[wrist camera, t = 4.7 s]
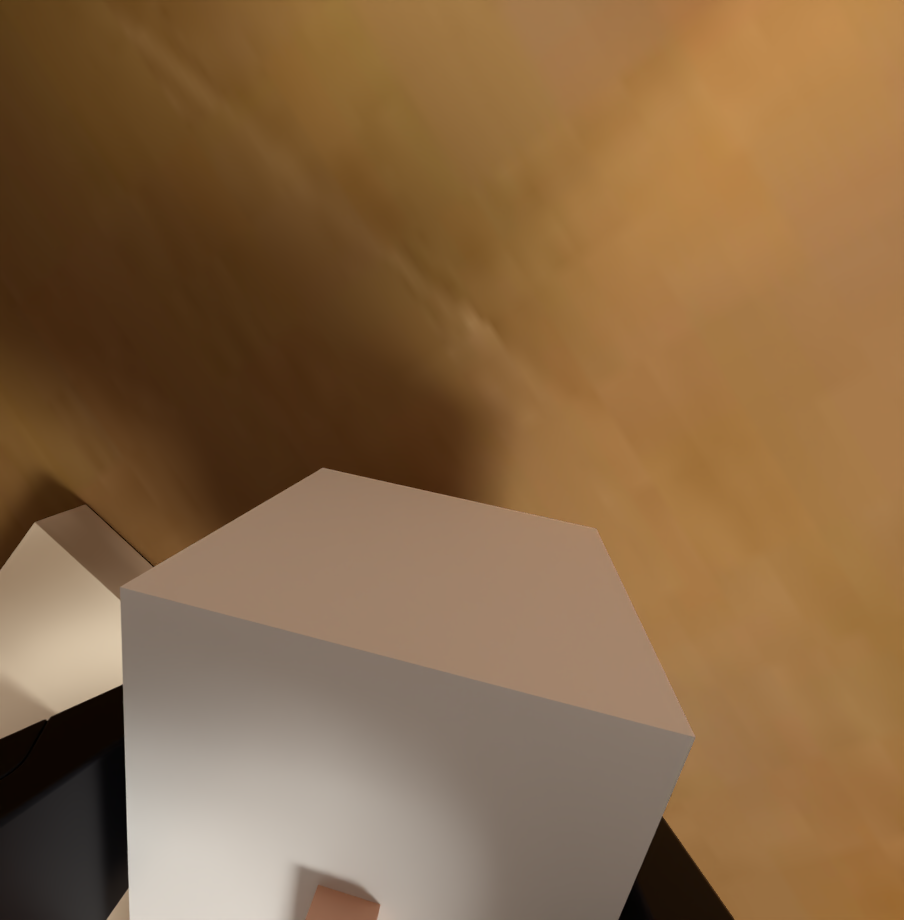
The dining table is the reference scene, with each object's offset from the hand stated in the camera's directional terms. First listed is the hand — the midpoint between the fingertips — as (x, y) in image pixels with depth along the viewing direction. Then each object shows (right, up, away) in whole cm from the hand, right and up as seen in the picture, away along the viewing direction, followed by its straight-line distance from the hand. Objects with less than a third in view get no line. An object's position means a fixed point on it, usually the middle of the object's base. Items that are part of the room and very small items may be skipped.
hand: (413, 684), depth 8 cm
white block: (0, 0, +1) cm, 2 cm away
